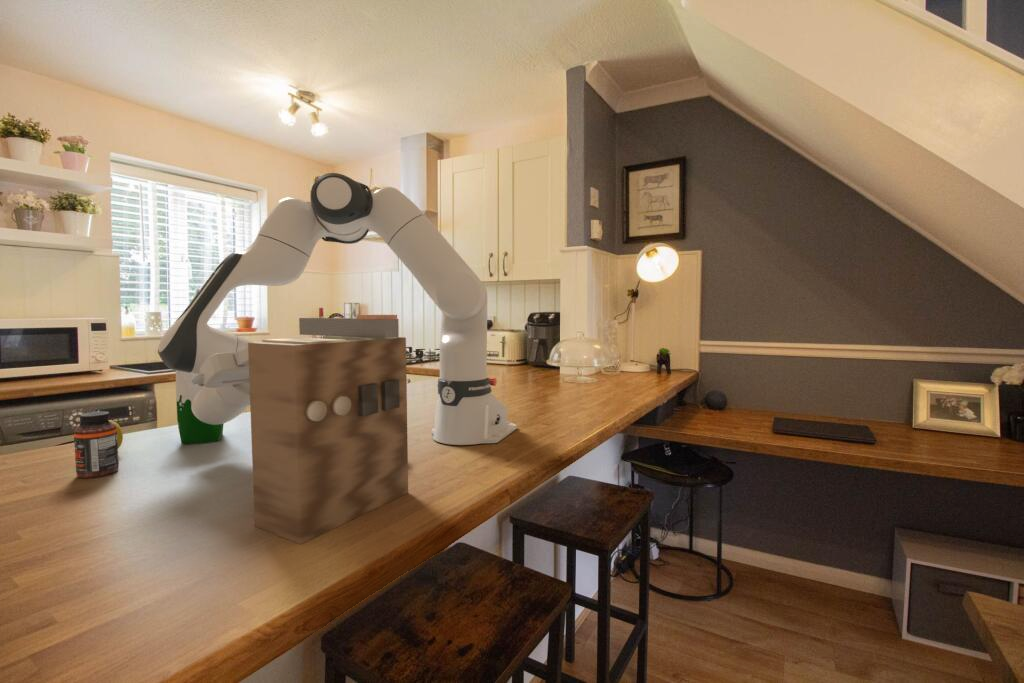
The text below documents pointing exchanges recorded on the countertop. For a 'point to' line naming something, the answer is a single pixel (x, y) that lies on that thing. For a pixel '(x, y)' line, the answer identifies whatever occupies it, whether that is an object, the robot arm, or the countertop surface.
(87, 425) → the supplement bottle
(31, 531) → the countertop surface
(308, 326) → the paddle lever
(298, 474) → the panel block
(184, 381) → the milk carton
